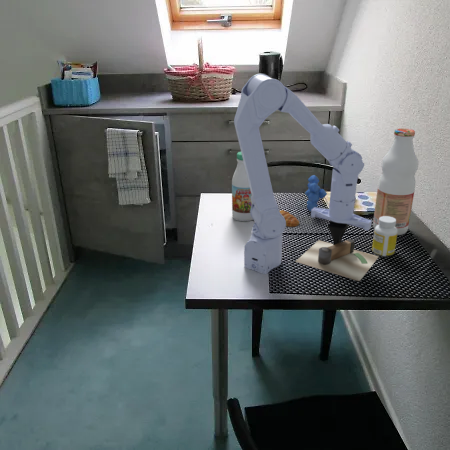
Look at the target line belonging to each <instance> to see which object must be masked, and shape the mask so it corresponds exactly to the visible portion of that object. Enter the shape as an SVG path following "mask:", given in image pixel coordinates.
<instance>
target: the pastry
mask: <svg viewBox="0 0 450 450" xmlns="http://www.w3.org/2000/svg"><path fill="white" fill-rule="evenodd" d="M279 212H280V213H281V215H282V216H283V217H284V218H285V220H286V227H289V228H294V227H295V228H296V227H298V226H299V225H300V221H299V220H298V218H297V217H296V216H294V215H293V214H291V213H290V212H289V211H285V210H284V209H281V210H279Z"/></svg>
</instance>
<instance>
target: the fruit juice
mask: <svg viewBox="0 0 450 450" xmlns="http://www.w3.org/2000/svg"><path fill="white" fill-rule="evenodd" d="M415 135H416V131H415V130H414V129H412V128H404V127H403V128H396V129H394V132H393V136H394V140H393V141H392V144H391V146H390V147H389V149H388V151H387V152H386V154H385V155H384V156H383V157H382V159H381V175H380V176H379V179H378V183H377V191H376V199H375V205H374V214H373V220H372V228H373V229H374V230H375V227H376V226H377V225H379V224H378V221H379V218H380V217H382V216H390V217H393V218H395V219H396V225H395V227H396V228H397V231H398V232H397V236H401V235H405V234H406V233H407V232H408V230H409V225H410V220H411V213H412V208H413V202H414V197H415V196H414V195H415V191H416V185H417V184H416V181H417V180H416V177H415V176H416V173H417V171H418V168H419V159H418V157H417V155H416V153H415V149H414V148H415V147H414V141H413V139H414V138H415Z"/></svg>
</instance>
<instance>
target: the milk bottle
mask: <svg viewBox="0 0 450 450" xmlns="http://www.w3.org/2000/svg"><path fill="white" fill-rule="evenodd" d="M236 161H237V165H236V168H235V171H234V173H233V176H232V179H231V211H232V214H231V215H232V218H233V219H234V220H235V221H239V222H251V221H254V220H253V219H252V217H251V214H250V210H251V206H252V202H251V196H252V194H251V190H250V186H249V182H248V178H247V174H246V170H245V166H244V162H243V157H242V153H241V151H238V152H237V153H236Z"/></svg>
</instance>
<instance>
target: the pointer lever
mask: <svg viewBox="0 0 450 450" xmlns="http://www.w3.org/2000/svg"><path fill="white" fill-rule="evenodd" d="M355 242H356V241H355V240H353V239H351V238H347V239H346V240H343V241H341V243H338V244H335V245H333V246H330V247H322V248H320V249H319V255H318V262H319V263H321V264H329V263H331V261H332V260H334V259H337V258H339V257H342V256H344V255H347V254H349V253H350V254H351V253H353V252H354V250H355Z"/></svg>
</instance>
